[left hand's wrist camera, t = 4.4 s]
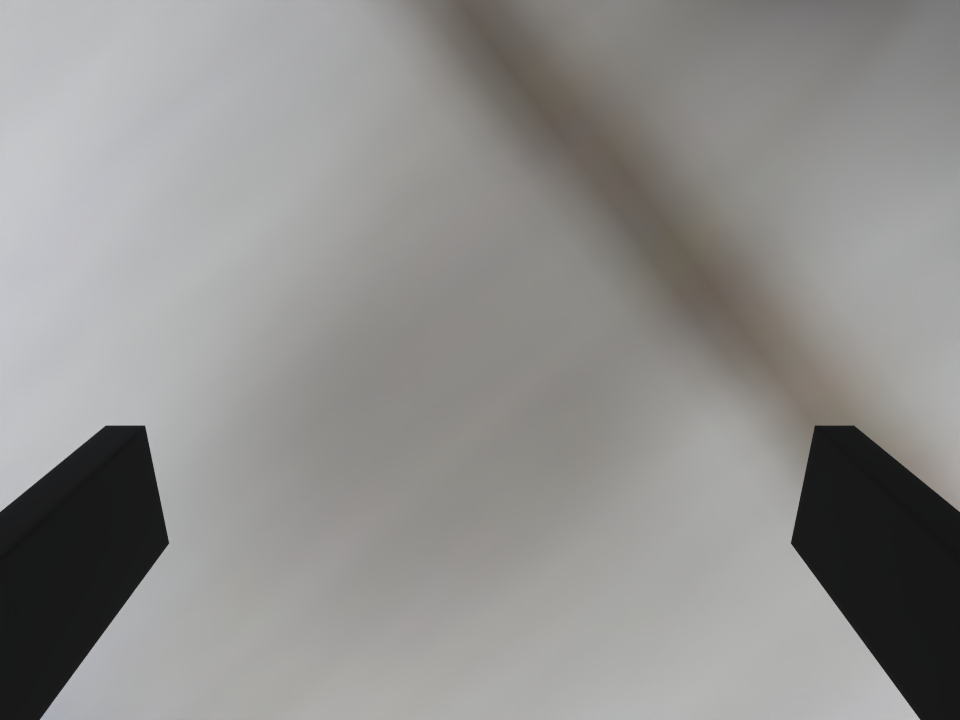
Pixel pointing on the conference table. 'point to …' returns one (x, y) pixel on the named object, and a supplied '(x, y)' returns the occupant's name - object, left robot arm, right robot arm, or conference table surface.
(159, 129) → the conference table surface
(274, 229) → the conference table surface
